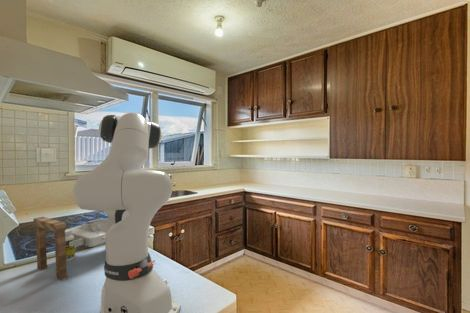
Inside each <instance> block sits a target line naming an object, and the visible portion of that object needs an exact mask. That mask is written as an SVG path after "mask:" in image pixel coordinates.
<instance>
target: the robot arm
mask: <svg viewBox="0 0 470 313" xmlns="http://www.w3.org/2000/svg"><path fill="white" fill-rule="evenodd" d="M98 132H99V135H100V136H99V137H100V139H102V140H101V141H104V142H106V143H109V144H111V146H110V149H109V152H108V155H107V156H106V158H104V159H103V161H102V162H101V163H99V164H98V165H97V166H96V167H94V168H93V169H91V170H90V171H88V172H87V173H84V174H82V175H80V176H79V177H78V178H77V179H76V181H75V183H74V185H73V188H72V197H73V200H74V202H75V204H76V206H77V207H79V208H80V209H81V210H86V211H93V212H102V213H104V214H105V215H106V216H107V218H106V220H102V221H97V222H90V221H87V222H85V223H84V224H82V225H81V224H80V225H78V226H74V227H70V228H69V229H71V230H72V234H71V235H73V236H74V241H73V240H72V241H69V242H68V246H70V247H72V246H82V245H83V246H85V247H89V248H92V247H96V246H98V245H101V244H104V243H105V260H104V265H103V267H104V268H103V270H104V277H105V279H104V280H105V281H104V282H103V285H102V288H101V293H100V308H99V309H100V312H99V313H180V312H181V308H182V306H181V303H180V302H179V301H177V300H176V299H174V298H172V292H171V288H170V286H169V285H168V281H167V278H162V277H161V276H160V275H159V274H158V272H157V271H156V270H155V269H154V265H155V264H156V263H155V261H156V260H154V259H153V260H152V257H151V255H150V253H149V231H150V226H151V222H152V221H153V218H154V216H156V213H157V212H158V211H159V210H160V209H161V208H162V207H163V206H164V205H165V204H167V202H168V201H169V200H170V198H171V196H172V193H173V182H172V180H171V178H170V176H169V175H168V173H166V172H165V171H162V170H161V171H160V170H155V169H141V168H142V167H143V166H144V165H145V164H146V162H147V160H148V159H149V149H155V148H156V147H158V146H159V144H160V142H161V140H162V131H161V127H160V125H159V124H158V123H156V122H152V121H147V120H146V119H145V116H143V115H141V114H139V113H137V112H126V113H124V114H123V115H116V114H106V115H105V116H103V117H102V120H100V123H99V126H98Z"/></svg>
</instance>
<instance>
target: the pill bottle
mask: <svg viewBox="0 0 470 313" xmlns="http://www.w3.org/2000/svg"><path fill="white" fill-rule="evenodd" d="M71 234H72V230H71V229H70V228H66V230H65V243H66V262H68V261H71V260H73V259H75V257H76V251H75V250H76V247H75V246H72V247H70V246H68V242H69V241H72V240H73V241H74V236H73V235H71Z"/></svg>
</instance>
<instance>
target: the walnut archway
mask: <svg viewBox="0 0 470 313" xmlns="http://www.w3.org/2000/svg"><path fill="white" fill-rule="evenodd" d="M33 226H35V227H34V228H35V248H36V266H37V267H36V268H37V270H39V271H43V270H46V269H47V268H48V260H47V257H48V256H47V239H46V234H47V233H46V230H49V231H52V232H54V248H55V249H54V251H55V252H54V254H55V269H56V270H55V273H56V279H57V280H60V281H62V280H65V279H68V272H67V269H68V268H67V261H66V243H65V230H66V229H67V222H64V221H60V220H55V219H53V218H48V217H44V216H41V217H36V218H35V217H34V218H33Z"/></svg>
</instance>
